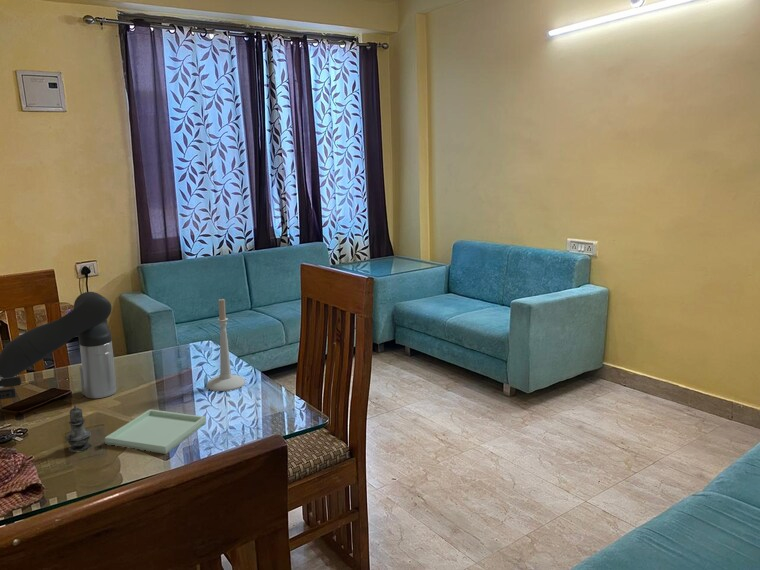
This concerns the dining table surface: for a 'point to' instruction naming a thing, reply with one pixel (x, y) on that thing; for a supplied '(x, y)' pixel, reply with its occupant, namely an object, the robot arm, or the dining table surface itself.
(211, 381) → the candlestick
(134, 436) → the tray
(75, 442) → the dark grey chess piece
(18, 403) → the dining table surface
